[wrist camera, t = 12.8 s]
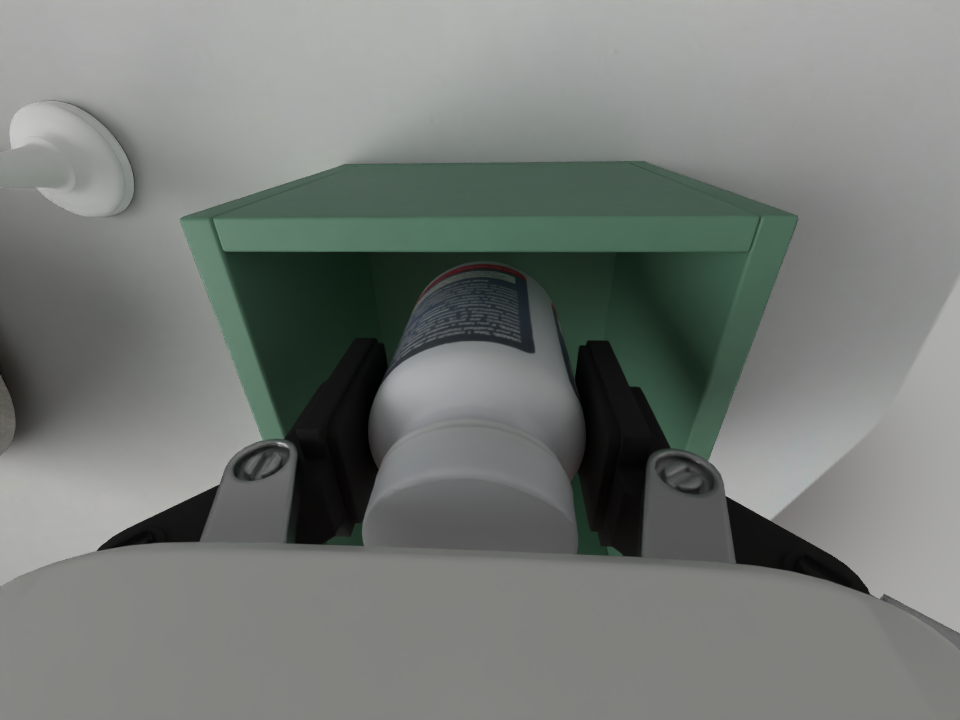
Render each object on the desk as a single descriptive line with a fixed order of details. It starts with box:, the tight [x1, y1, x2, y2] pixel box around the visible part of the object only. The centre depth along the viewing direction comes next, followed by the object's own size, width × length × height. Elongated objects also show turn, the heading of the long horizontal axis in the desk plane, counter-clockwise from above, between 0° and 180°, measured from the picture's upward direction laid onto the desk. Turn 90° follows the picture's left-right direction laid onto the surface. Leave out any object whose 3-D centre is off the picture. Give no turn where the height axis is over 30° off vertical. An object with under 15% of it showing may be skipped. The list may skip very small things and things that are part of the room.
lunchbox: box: [180, 161, 798, 556], centre depth 18 cm, size 18×14×11 cm
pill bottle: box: [362, 261, 586, 554], centre depth 11 cm, size 5×5×9 cm
